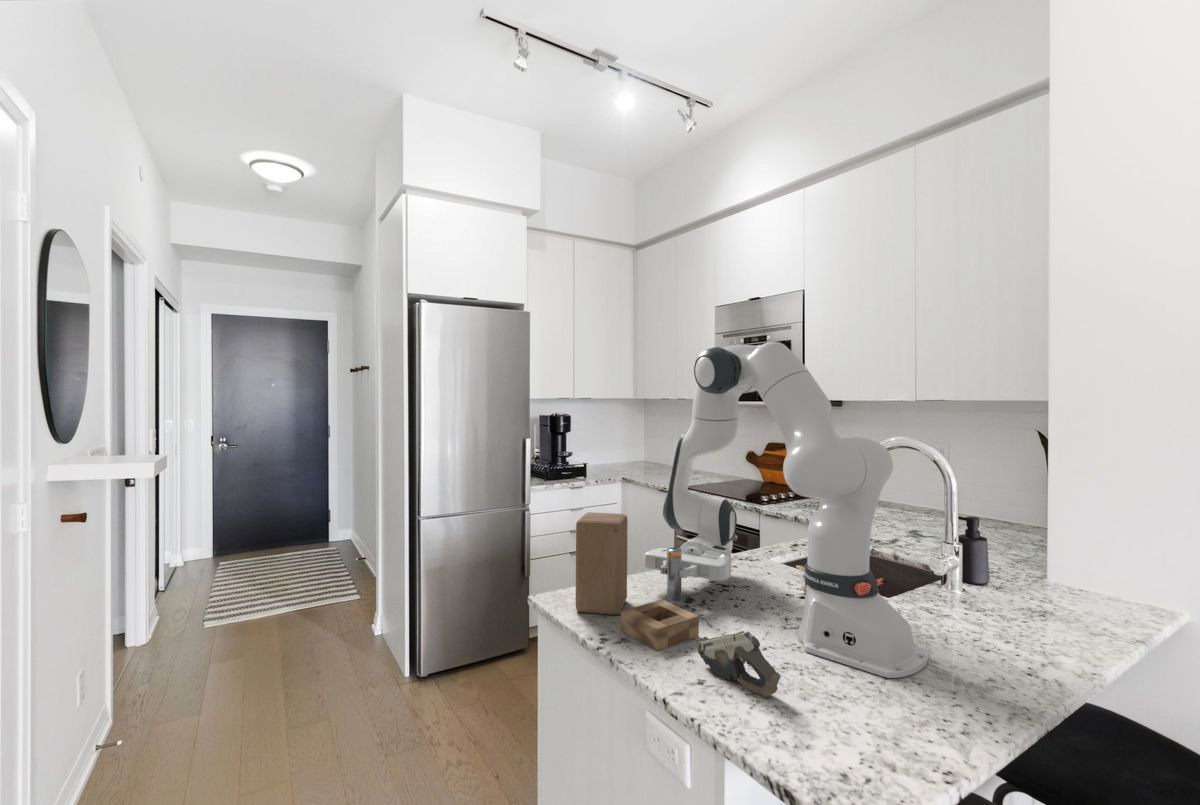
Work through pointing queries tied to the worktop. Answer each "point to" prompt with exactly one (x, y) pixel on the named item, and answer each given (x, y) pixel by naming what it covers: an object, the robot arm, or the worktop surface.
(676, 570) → the grey metal cylinder
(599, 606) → the wooden block
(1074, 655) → the worktop surface
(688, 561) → the robot arm
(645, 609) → the bore block
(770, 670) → the futuristic pistol
